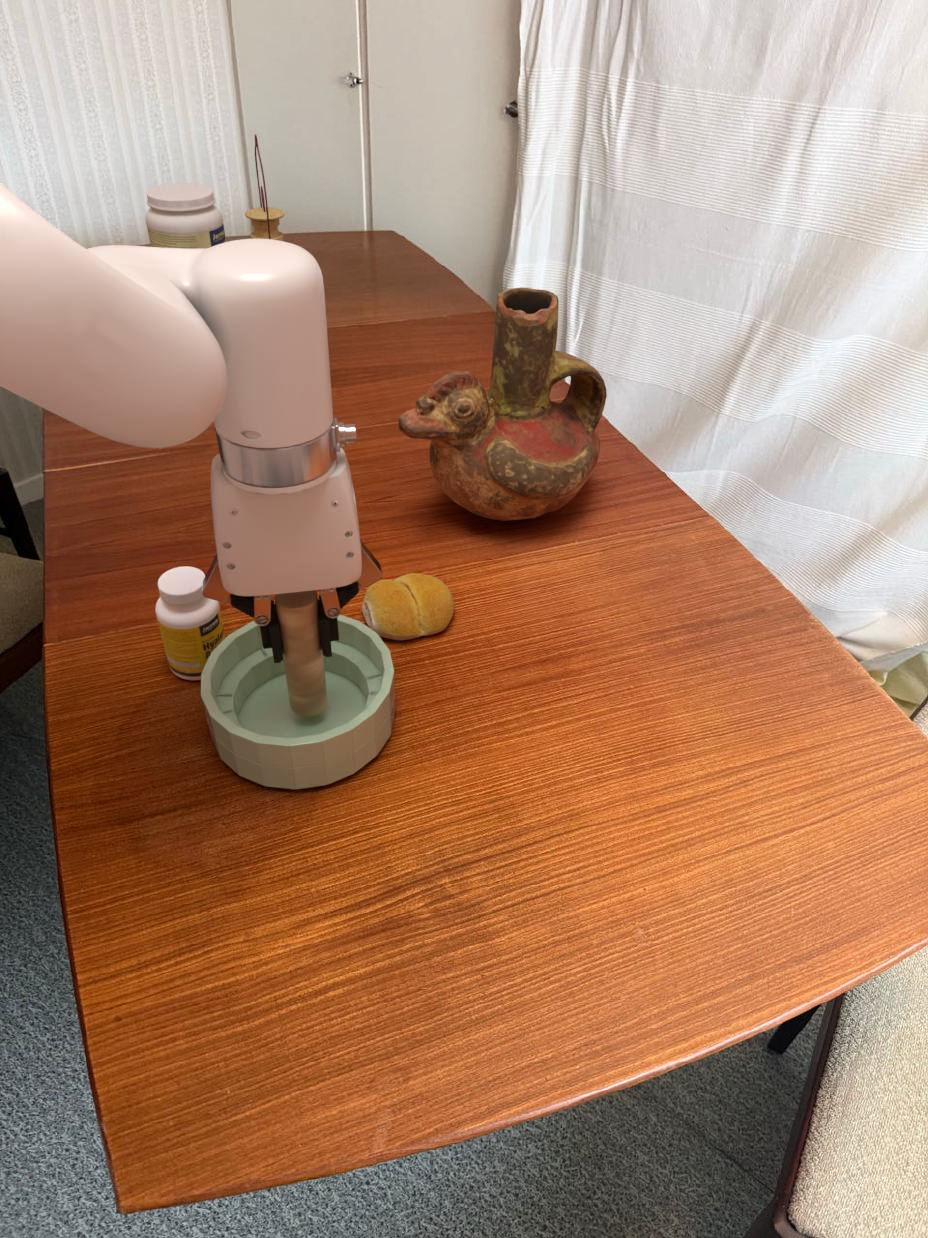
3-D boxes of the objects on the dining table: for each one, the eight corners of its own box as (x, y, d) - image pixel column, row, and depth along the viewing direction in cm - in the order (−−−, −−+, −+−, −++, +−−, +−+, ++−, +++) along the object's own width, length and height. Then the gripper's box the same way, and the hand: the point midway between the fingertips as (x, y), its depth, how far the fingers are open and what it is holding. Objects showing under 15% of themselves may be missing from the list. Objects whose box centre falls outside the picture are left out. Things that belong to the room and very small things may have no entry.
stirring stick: (291, 719, 70) (275, 611, 62) (288, 692, 72) (273, 584, 64) (329, 714, 70) (318, 606, 62) (326, 687, 73) (315, 580, 65)
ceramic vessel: (369, 502, 98) (360, 288, 82) (548, 451, 109) (572, 252, 92) (440, 582, 87) (446, 354, 71) (631, 517, 98) (675, 305, 81)
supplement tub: (235, 308, 141) (219, 200, 129) (160, 312, 138) (137, 202, 127) (233, 283, 150) (218, 179, 138) (162, 286, 147) (141, 181, 136)
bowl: (212, 807, 65) (198, 758, 61) (213, 669, 77) (202, 620, 73) (407, 777, 68) (407, 729, 64) (381, 649, 80) (379, 601, 76)
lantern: (320, 370, 124) (302, 144, 104) (253, 376, 122) (221, 146, 102) (308, 338, 133) (290, 123, 113) (246, 342, 131) (215, 124, 111)
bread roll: (465, 631, 82) (466, 600, 79) (378, 651, 79) (377, 620, 77) (436, 581, 88) (437, 551, 85) (354, 599, 85) (352, 568, 82)
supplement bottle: (217, 686, 75) (198, 604, 69) (160, 678, 76) (136, 595, 69) (238, 646, 79) (222, 564, 73) (184, 638, 80) (163, 557, 73)
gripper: (392, 411, 59) (396, 607, 71) (150, 426, 56) (197, 629, 68) (410, 465, 53) (410, 668, 66) (143, 486, 50) (195, 694, 63)
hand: (301, 646), depth 67 cm, fingers closed on stirring stick, 3 cm apart
